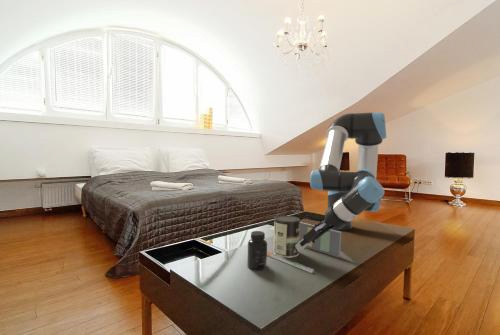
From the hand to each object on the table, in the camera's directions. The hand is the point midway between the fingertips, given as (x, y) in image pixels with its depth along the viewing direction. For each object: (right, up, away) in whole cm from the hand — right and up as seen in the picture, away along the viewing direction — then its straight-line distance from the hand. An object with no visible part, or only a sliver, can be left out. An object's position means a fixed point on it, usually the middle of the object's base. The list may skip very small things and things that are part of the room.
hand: (297, 248), depth 98 cm
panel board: (+7, -3, +10) cm, 13 cm away
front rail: (-6, -4, -4) cm, 8 cm away
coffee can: (-4, -3, +4) cm, 7 cm away
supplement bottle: (-16, -4, -9) cm, 19 cm away
